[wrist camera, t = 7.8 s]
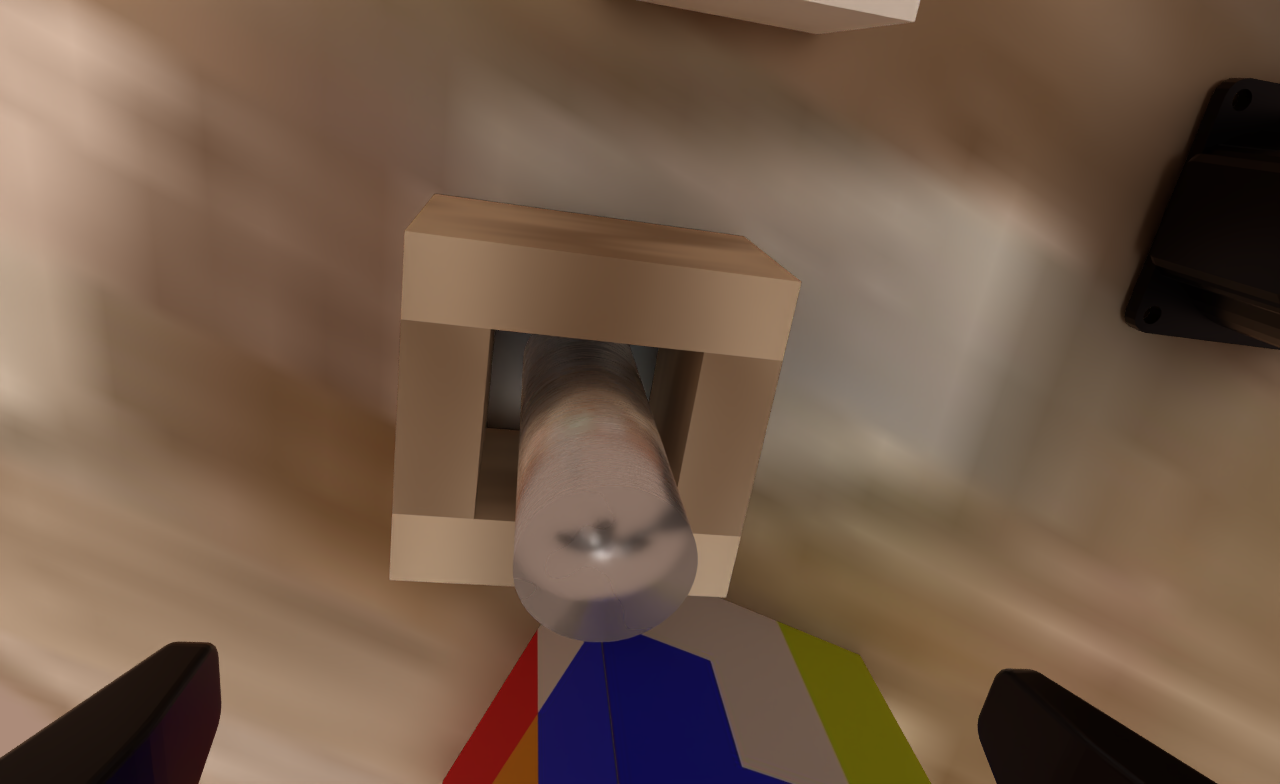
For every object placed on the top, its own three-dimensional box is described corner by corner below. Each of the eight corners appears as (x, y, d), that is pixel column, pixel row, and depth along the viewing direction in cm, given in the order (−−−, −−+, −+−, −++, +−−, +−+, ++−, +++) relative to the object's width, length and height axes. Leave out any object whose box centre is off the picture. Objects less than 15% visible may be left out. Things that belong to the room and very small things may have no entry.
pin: (639, 316, 20) (713, 493, 11) (623, 415, 21) (681, 645, 12) (529, 303, 19) (522, 479, 11) (518, 406, 20) (504, 637, 12)
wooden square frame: (744, 236, 19) (801, 282, 15) (690, 497, 22) (726, 597, 18) (434, 193, 18) (404, 230, 14) (418, 477, 20) (389, 580, 16)
